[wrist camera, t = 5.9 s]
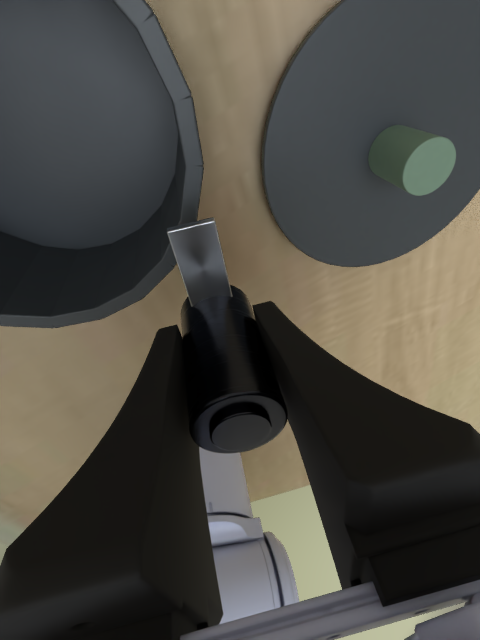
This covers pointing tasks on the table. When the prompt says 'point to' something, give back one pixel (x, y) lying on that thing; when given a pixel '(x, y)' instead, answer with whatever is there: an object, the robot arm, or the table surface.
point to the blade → (222, 351)
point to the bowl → (89, 158)
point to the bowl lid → (376, 129)
